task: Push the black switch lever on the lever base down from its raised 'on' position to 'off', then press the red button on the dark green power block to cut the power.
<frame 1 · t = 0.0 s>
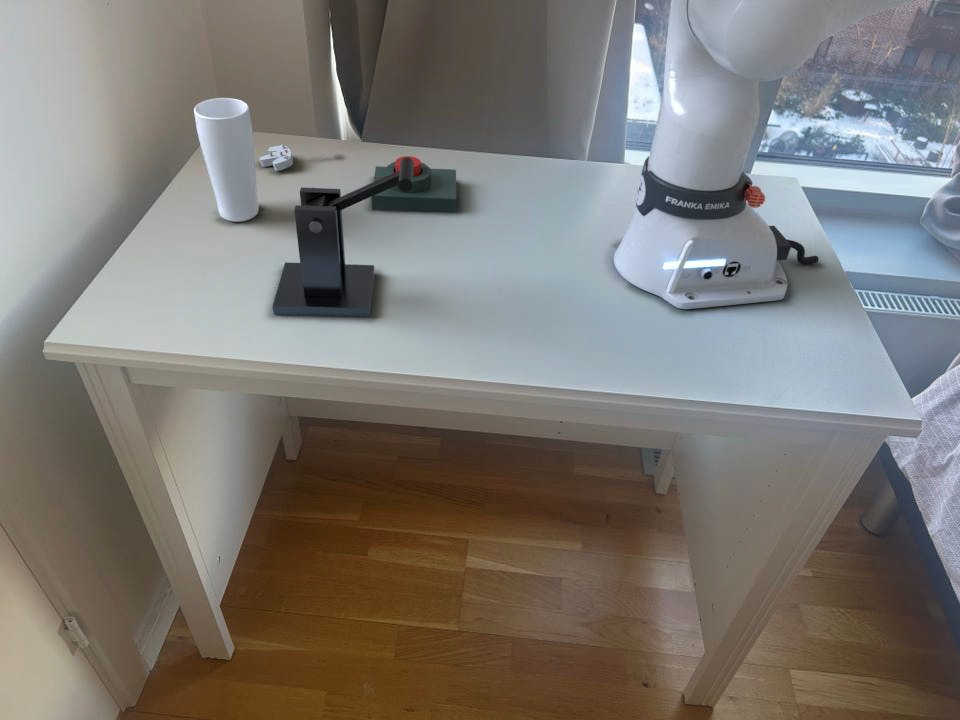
game controller: (300, 163, 115), on the table
lever base: (326, 293, 90), on the table
black lever handle: (359, 195, 81), point 13 cm above the table, hinge at 28.0°
drinking glass: (239, 214, 103), on the table
power button: (408, 167, 106), point 4 cm above the table, slide at 0.1 cm
power block: (415, 195, 109), on the table
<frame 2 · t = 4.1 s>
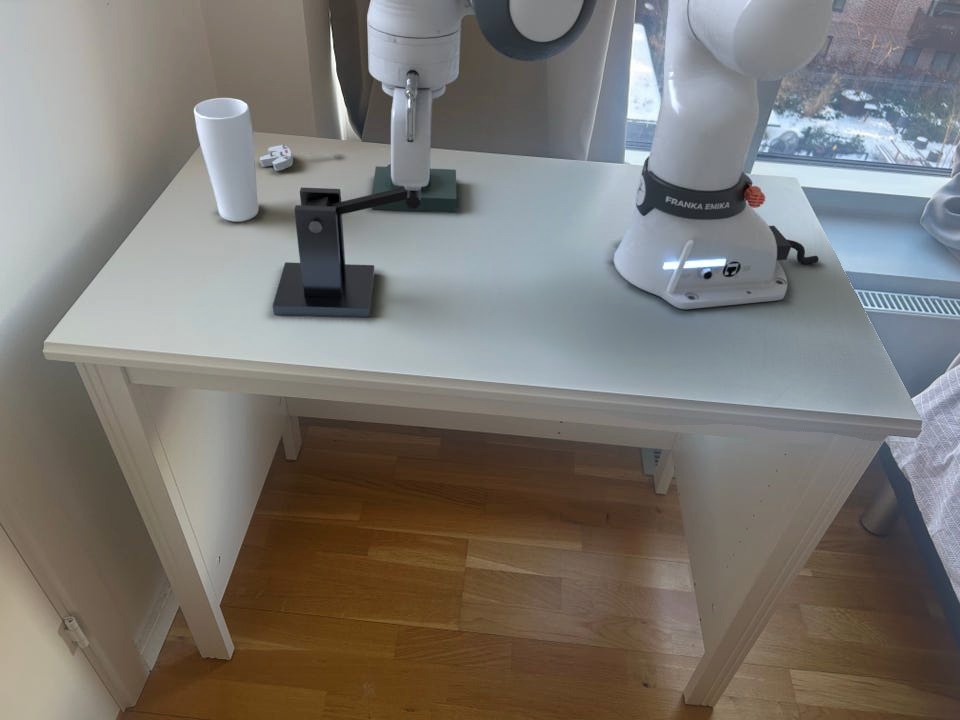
hand: (412, 184, 81), 15 cm above the table, tool pointing down, fingers closed, pressing on black lever handle
black lever handle: (363, 202, 82), point 12 cm above the table, hinge at 16.7°, touching gripper
everything else where it was.
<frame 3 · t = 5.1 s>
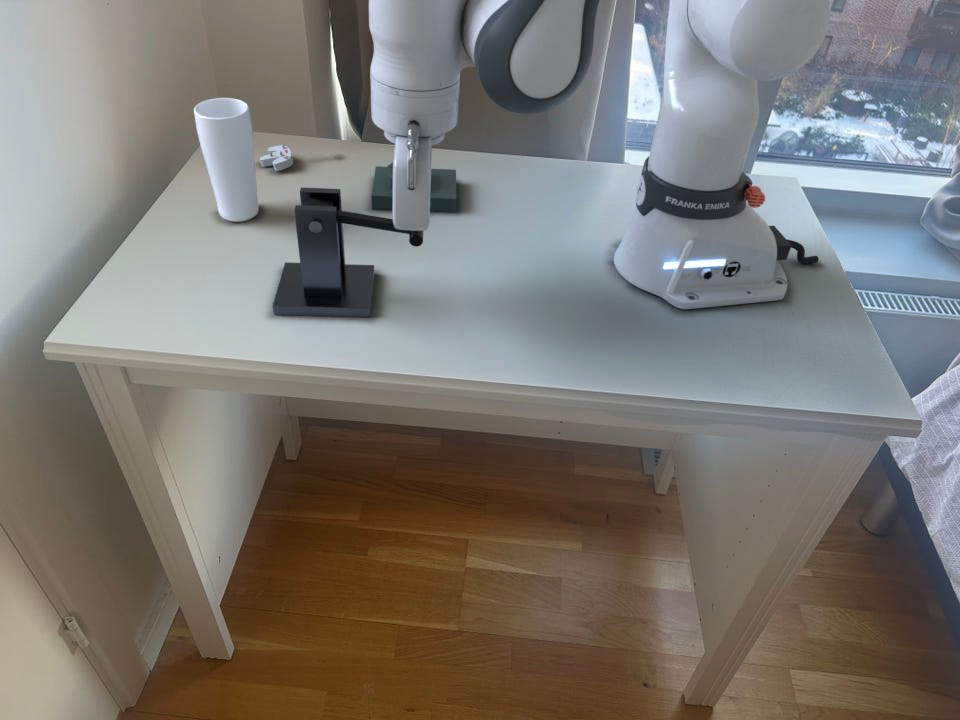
hand: (413, 223, 84), 10 cm above the table, tool pointing down, fingers closed, pressing on black lever handle
black lever handle: (365, 220, 84), point 10 cm above the table, hinge at -8.5°, touching gripper
everything else where it was.
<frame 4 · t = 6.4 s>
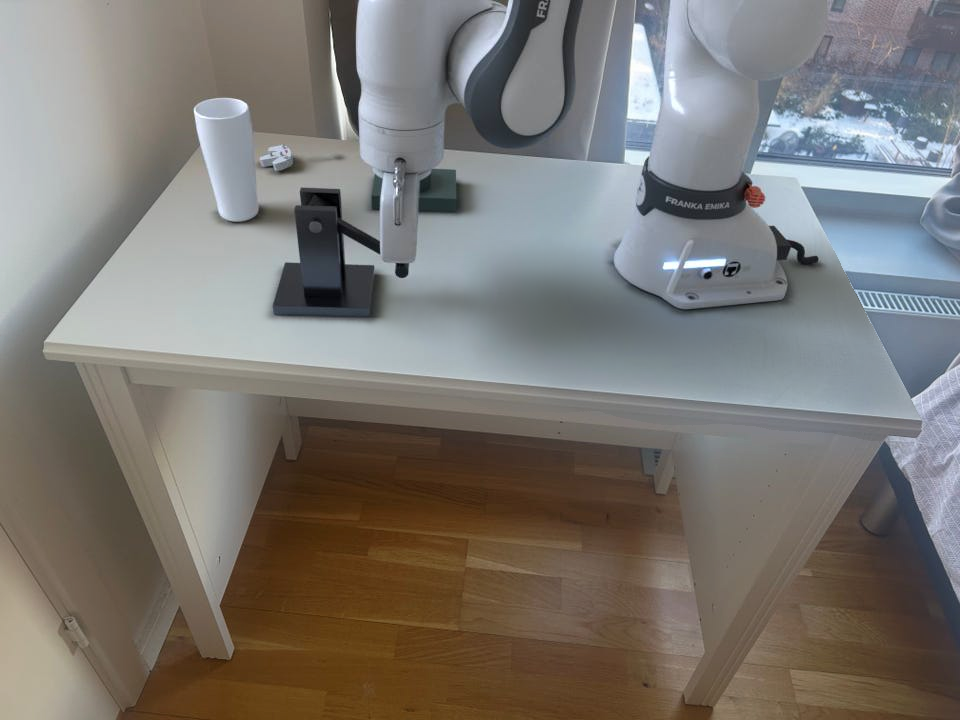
hand: (402, 252, 86), 6 cm above the table, tool pointing down, fingers closed, pressing on black lever handle
black lever handle: (359, 236, 85), point 8 cm above the table, hinge at -32.7°, touching gripper
everything else where it was.
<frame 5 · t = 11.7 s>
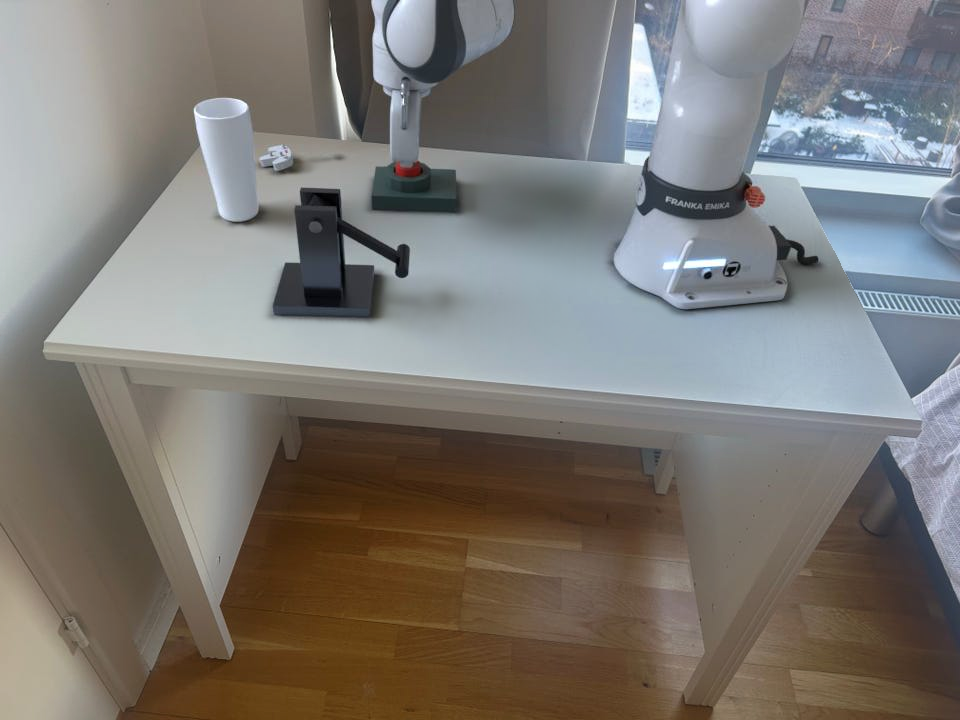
hand: (406, 163, 106), 5 cm above the table, tool pointing down, fingers closed, pressing on power button
black lever handle: (359, 236, 85), point 8 cm above the table, hinge at -32.7°
power button: (408, 169, 107), point 4 cm above the table, slide at -0.2 cm, touching gripper
everything else where it was.
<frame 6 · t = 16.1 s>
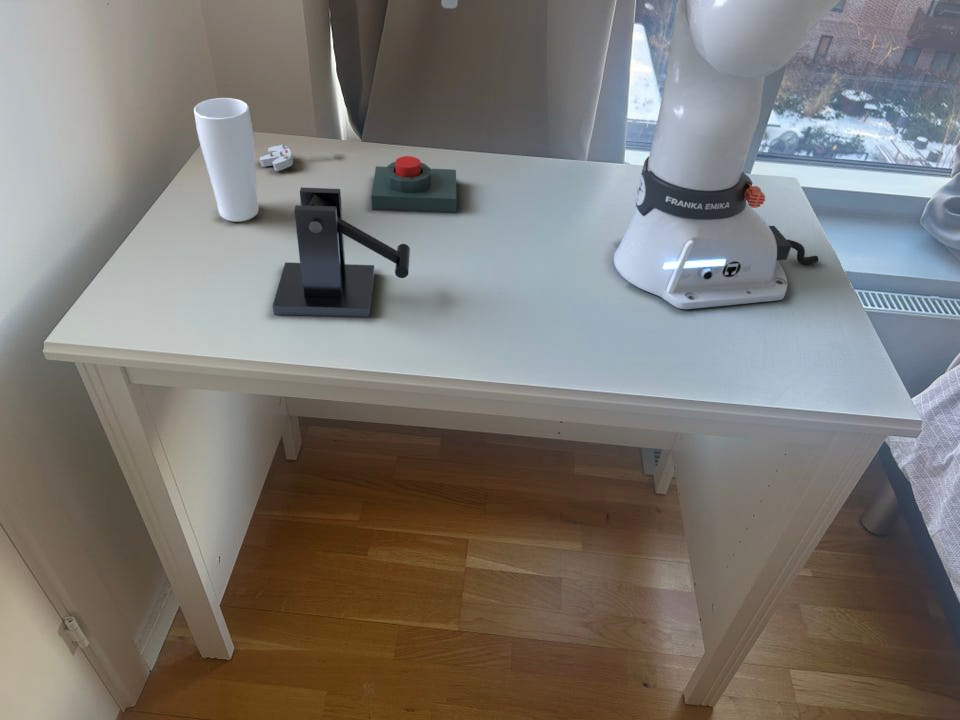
hand: (449, 4, 84), 29 cm above the table, tool pointing down, fingers closed
power button: (408, 167, 106), point 4 cm above the table, slide at 0.1 cm
everything else where it was.
at the end: black lever handle at -33° (first picture: +28°); power button pushed in 1.0 cm at the most during the clip, back to where it started at the end; power button slide at 0.1 cm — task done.
